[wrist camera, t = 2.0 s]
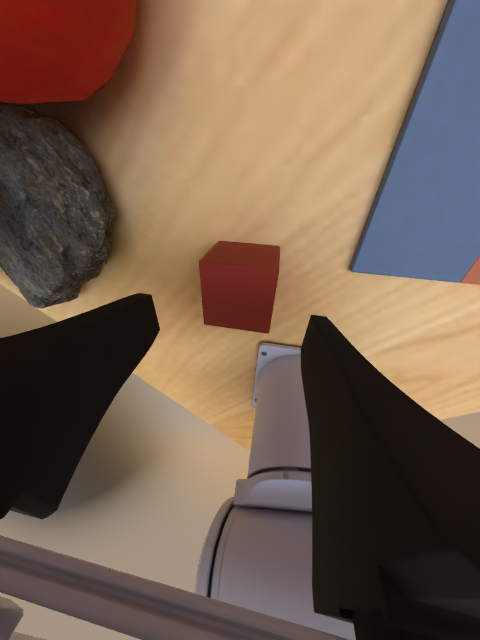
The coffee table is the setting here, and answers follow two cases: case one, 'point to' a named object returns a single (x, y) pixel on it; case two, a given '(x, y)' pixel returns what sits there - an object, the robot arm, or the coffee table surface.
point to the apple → (61, 47)
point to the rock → (49, 208)
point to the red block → (239, 285)
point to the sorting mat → (434, 168)
